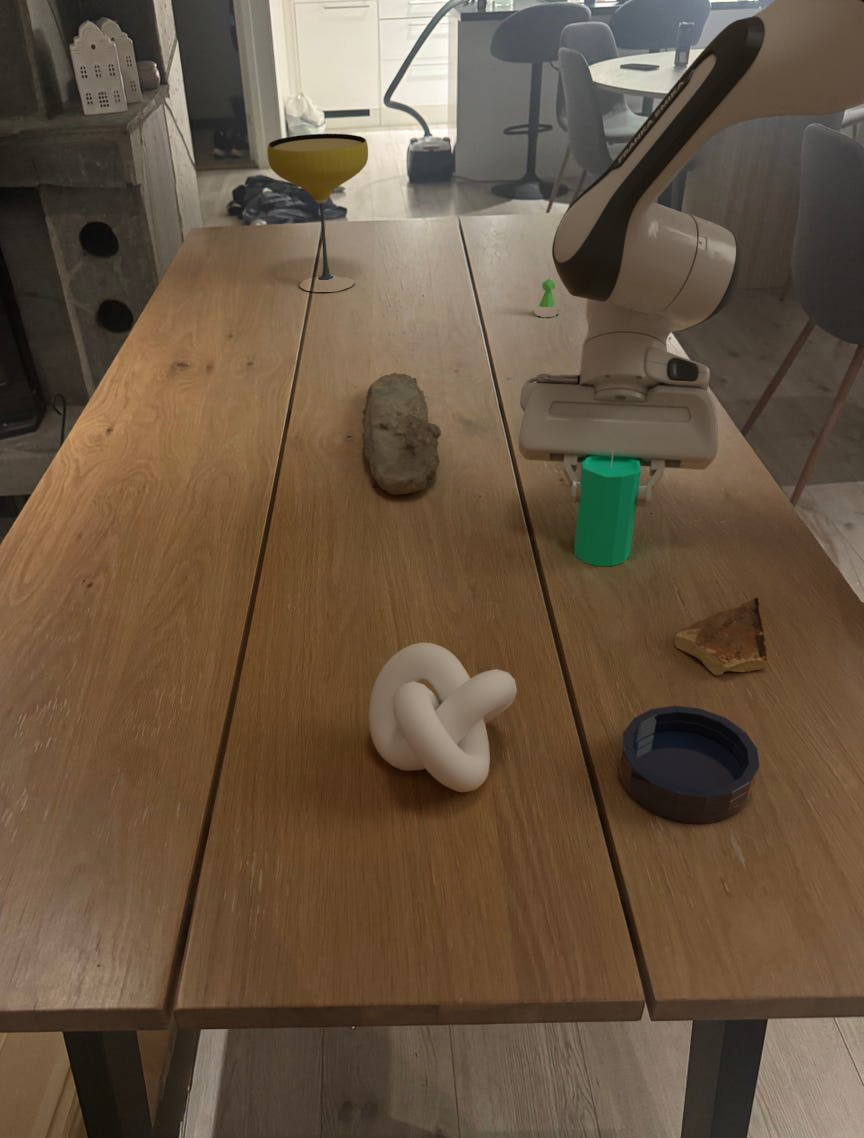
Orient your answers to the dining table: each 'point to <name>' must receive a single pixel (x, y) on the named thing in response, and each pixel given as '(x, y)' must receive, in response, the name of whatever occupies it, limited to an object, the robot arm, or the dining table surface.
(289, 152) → the cocktail glass
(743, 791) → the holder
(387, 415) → the elongated rock
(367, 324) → the dining table surface
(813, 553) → the dining table surface
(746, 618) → the shard
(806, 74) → the robot arm
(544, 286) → the game piece
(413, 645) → the white knot sculpture
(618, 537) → the candle
